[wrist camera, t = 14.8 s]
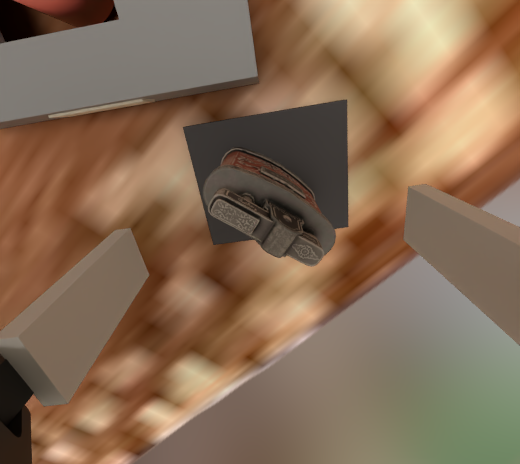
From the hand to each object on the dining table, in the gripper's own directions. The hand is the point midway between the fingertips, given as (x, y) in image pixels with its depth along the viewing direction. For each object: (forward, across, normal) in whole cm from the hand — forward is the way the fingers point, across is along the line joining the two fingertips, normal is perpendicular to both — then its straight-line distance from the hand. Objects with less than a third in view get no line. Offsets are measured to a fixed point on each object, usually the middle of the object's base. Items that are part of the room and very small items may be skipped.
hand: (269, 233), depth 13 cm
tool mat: (+10, +1, 0) cm, 10 cm away
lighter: (+10, 0, 0) cm, 10 cm away
